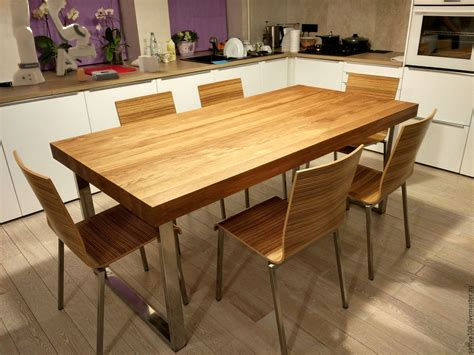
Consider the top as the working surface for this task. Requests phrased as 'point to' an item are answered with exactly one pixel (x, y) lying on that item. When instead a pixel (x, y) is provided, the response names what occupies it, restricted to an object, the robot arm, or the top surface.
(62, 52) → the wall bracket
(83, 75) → the square block
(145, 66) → the corner bracket
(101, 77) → the square hole plate
